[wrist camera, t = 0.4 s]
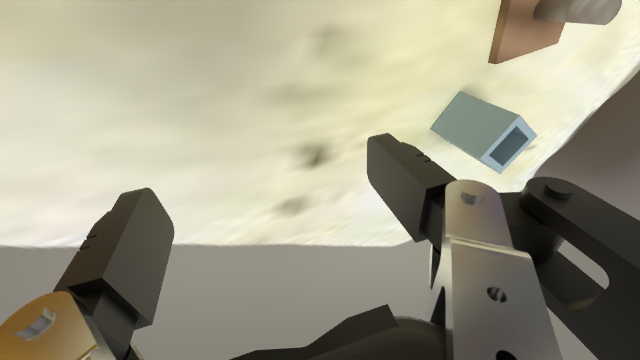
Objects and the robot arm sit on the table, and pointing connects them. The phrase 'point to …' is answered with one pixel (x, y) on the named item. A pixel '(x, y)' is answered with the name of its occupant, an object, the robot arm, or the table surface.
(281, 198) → the table surface
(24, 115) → the table surface
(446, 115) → the collar
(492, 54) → the pin stand
